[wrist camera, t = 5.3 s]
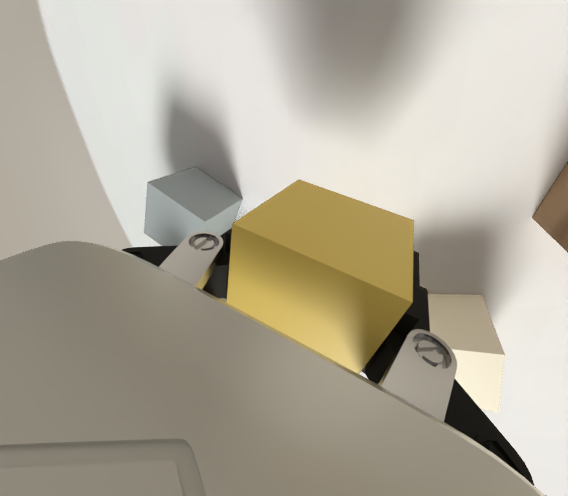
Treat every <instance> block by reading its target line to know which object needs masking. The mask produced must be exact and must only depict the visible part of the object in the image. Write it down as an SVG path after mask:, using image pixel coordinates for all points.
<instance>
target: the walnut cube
mask: <svg viewBox="0 0 568 496" xmlns="http://www.w3.org/2000/svg"><path fill="white" fill-rule="evenodd" d="M532 218H533V219H534V220H535V221H536V222H537V223H538V224H539V225H540V226H541V227H542V228H543V229H544V230H545V231H546V232H547V233H548V234H549V235H550V236H551V237H552V238H553V239H554V240H556V241H557V242H558V243H559V244H560V245H561V246H562V247H563V248H564V249H565V250H566V251H567V252H568V162H567V164H566V165H565V167H564V168H563V170H562V171H561V173H560V174H559V176H558V178H557V179H556V181H555V182H554V184H553V185H552V187H551V189H550V190H549V192H548V193H547V195H546V196H545V198H544V200H543V201H542V203H541V204H540V206H539V207H538V209H537V211H536V212H535V214H534V215H533V217H532Z"/></svg>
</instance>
